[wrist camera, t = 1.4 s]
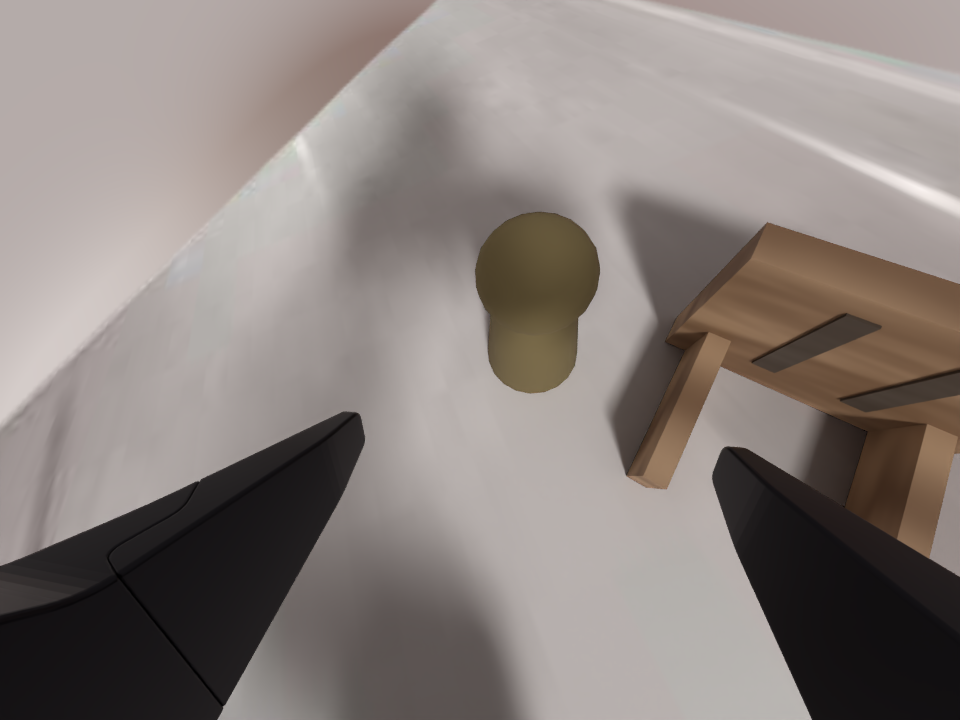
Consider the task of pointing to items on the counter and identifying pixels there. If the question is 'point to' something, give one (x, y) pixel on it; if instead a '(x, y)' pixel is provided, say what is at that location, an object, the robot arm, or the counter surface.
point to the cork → (536, 297)
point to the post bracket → (829, 366)
